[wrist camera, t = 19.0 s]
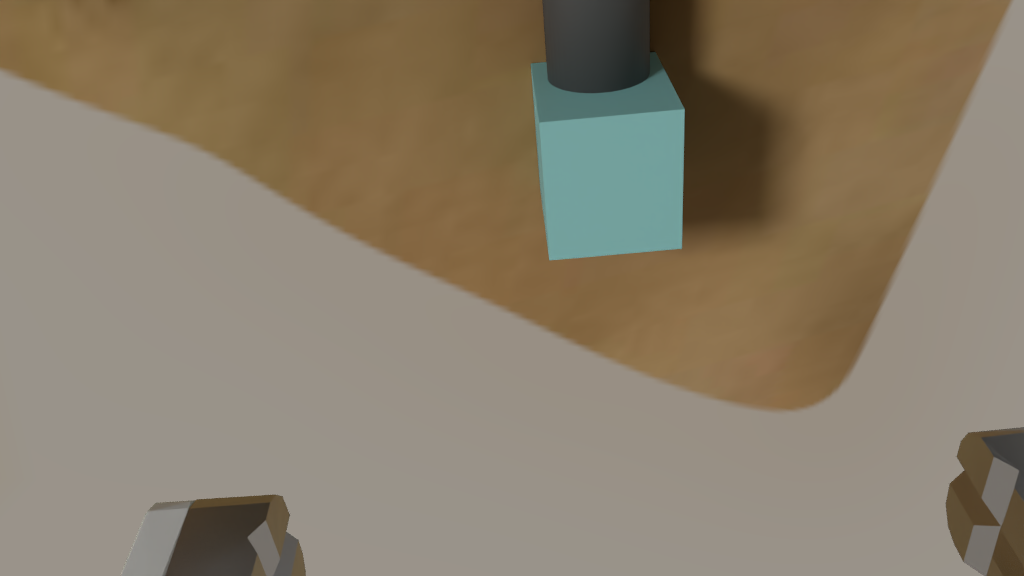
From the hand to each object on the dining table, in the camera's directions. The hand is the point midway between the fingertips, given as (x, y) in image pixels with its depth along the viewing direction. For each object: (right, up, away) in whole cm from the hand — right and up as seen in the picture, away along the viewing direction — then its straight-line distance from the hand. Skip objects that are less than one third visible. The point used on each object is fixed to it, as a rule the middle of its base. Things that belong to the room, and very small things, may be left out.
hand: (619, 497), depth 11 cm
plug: (+1, +11, +14) cm, 18 cm away
